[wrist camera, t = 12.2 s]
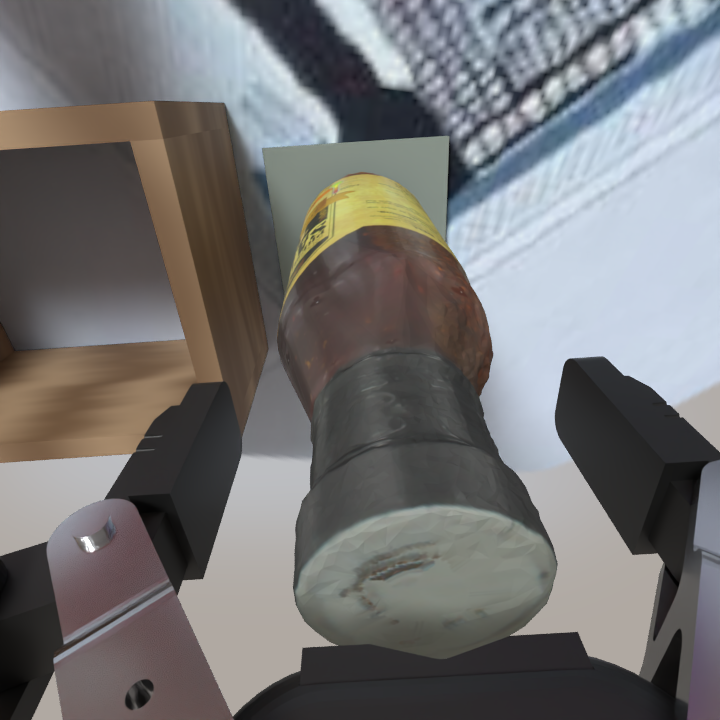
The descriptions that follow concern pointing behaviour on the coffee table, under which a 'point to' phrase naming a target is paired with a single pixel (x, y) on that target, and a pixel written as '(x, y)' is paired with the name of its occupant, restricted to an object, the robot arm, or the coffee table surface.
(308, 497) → the sauce bottle
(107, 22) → the coffee table surface
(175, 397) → the crate
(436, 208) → the pad
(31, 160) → the coffee table surface
